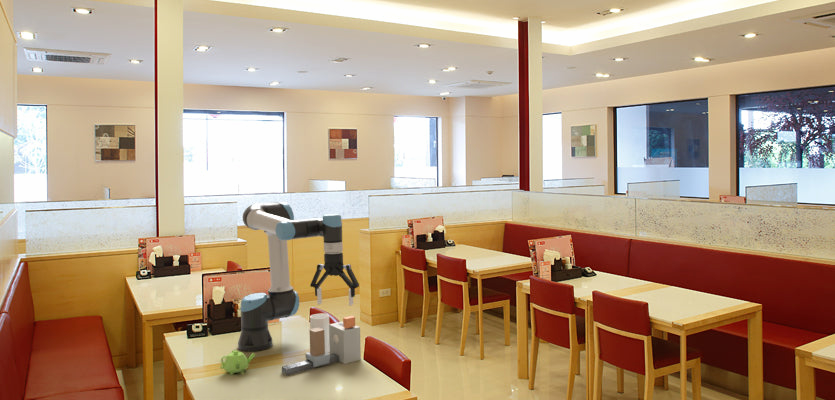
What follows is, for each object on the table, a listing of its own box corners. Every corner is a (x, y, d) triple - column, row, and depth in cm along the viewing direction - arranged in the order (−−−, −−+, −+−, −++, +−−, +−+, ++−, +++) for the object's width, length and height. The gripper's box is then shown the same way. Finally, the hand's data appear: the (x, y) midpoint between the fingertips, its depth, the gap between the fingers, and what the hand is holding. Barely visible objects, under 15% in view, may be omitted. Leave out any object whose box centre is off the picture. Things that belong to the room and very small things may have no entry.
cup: (326, 355, 250) (325, 319, 248) (308, 354, 251) (307, 318, 250) (332, 349, 258) (331, 313, 256) (315, 348, 259) (314, 313, 258)
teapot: (215, 374, 229) (214, 353, 228) (234, 364, 240) (234, 344, 239) (238, 378, 225) (237, 357, 224) (257, 368, 235) (256, 348, 235)
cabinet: (328, 356, 248) (328, 324, 247) (345, 352, 253) (345, 320, 252) (343, 364, 238) (342, 330, 237) (360, 359, 244) (360, 326, 243)
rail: (282, 372, 230) (281, 366, 230) (334, 358, 245) (334, 353, 245) (286, 375, 227) (286, 369, 227) (339, 361, 242) (339, 355, 242)
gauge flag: (343, 327, 241) (343, 317, 241) (352, 325, 244) (352, 315, 244) (346, 328, 239) (346, 319, 239) (355, 326, 242) (355, 317, 242)
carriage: (305, 361, 239) (304, 329, 238) (320, 358, 243) (319, 325, 242) (314, 367, 232) (313, 333, 231) (330, 363, 237) (329, 330, 236)
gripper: (300, 253, 232) (302, 305, 234) (359, 254, 226) (361, 307, 228) (308, 250, 240) (310, 301, 241) (365, 251, 234) (367, 303, 235)
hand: (335, 304), depth 234 cm, fingers open, 13 cm apart
